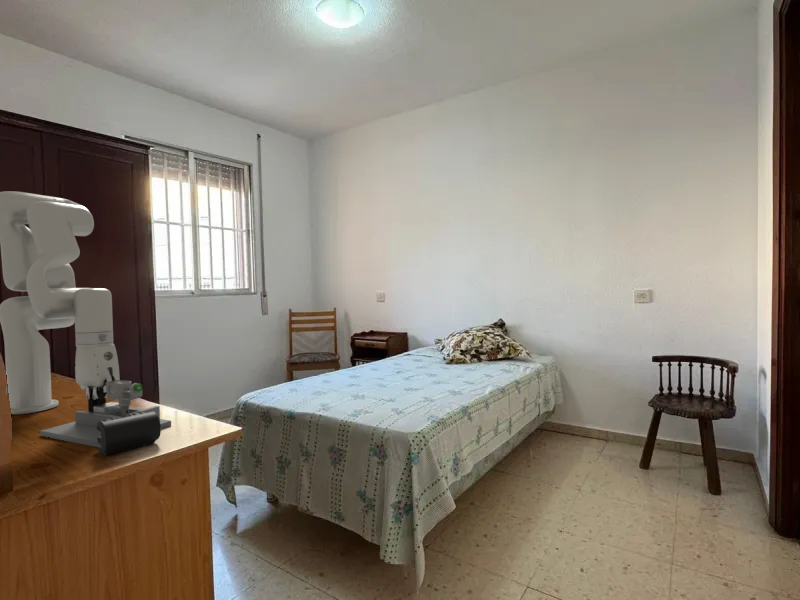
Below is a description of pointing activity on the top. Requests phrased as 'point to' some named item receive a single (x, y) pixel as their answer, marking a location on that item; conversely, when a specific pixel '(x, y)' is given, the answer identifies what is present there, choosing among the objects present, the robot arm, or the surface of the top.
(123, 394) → the mechanical component
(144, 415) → the end cap
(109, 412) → the grey matte cube
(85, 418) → the grey railed base plate
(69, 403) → the top surface
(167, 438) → the top surface
